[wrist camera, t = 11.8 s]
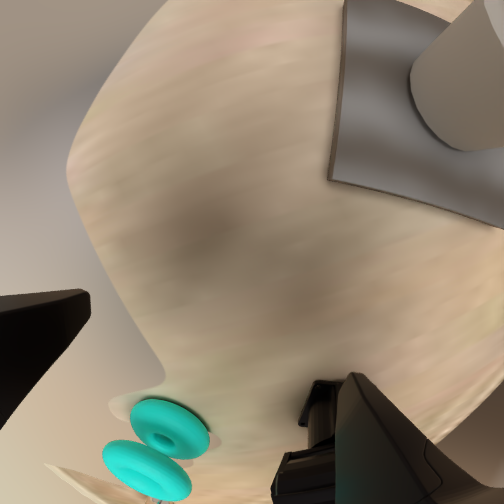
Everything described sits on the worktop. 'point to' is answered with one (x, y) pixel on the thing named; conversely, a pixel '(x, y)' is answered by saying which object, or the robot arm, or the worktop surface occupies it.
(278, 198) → the worktop surface
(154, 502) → the white piece
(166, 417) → the turquoise double disc piece
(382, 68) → the plinth
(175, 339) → the worktop surface
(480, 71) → the can
